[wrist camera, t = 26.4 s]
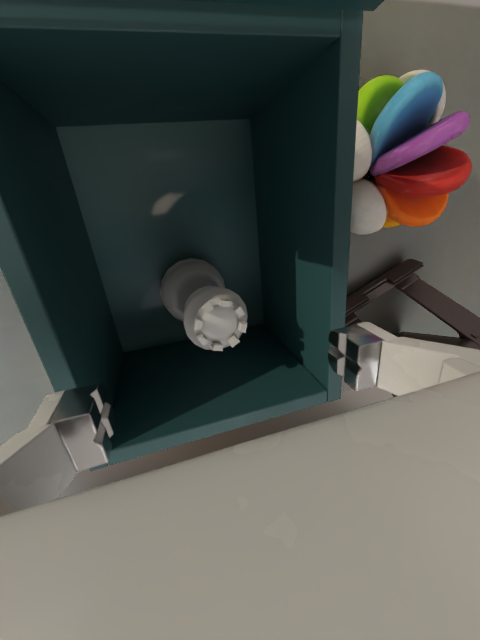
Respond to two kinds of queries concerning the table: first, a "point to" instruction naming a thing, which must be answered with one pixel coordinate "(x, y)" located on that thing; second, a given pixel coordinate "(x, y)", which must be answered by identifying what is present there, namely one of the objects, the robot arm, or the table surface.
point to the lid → (308, 3)
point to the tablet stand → (402, 277)
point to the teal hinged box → (178, 200)
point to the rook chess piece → (204, 304)
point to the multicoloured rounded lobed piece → (405, 152)
